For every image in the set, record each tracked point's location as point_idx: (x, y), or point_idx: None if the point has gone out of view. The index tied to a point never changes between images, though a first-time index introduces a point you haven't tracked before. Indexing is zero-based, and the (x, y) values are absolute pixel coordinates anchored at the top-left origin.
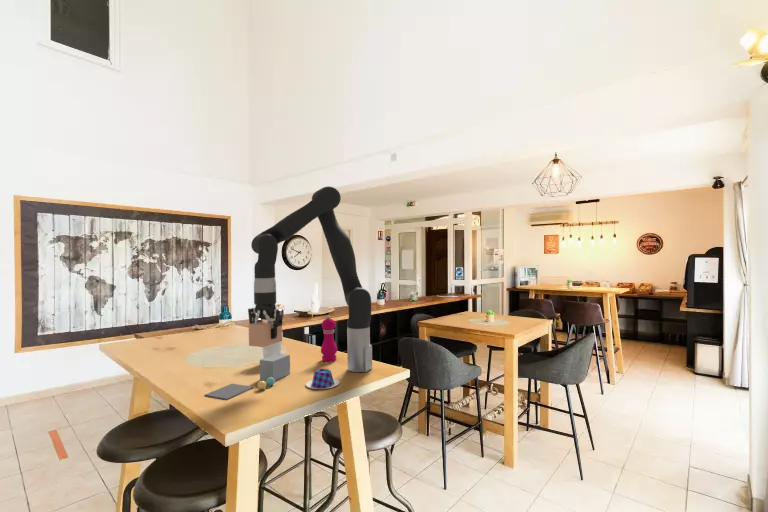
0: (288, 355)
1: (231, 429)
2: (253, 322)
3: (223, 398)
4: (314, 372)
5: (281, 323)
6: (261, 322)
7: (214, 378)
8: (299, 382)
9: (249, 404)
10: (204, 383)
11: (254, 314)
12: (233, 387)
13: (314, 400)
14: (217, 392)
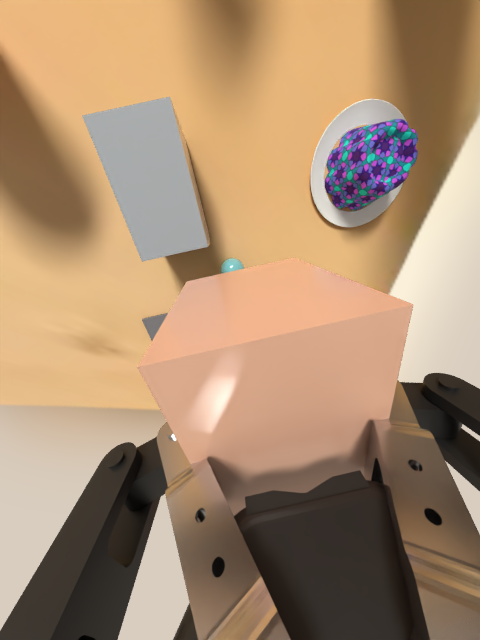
0: (174, 113)
1: None
2: (158, 495)
3: None
4: (358, 179)
5: (473, 396)
6: (271, 486)
7: (48, 317)
8: (282, 199)
9: None
10: (80, 349)
11: (76, 632)
12: None
13: (389, 276)
14: None
